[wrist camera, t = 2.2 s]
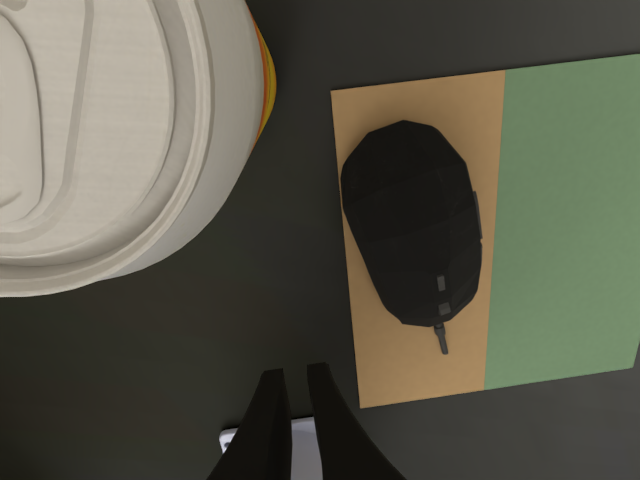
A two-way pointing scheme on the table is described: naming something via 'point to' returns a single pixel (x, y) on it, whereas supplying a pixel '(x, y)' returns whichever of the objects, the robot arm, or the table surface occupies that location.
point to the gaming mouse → (414, 222)
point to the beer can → (120, 131)
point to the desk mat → (515, 228)
